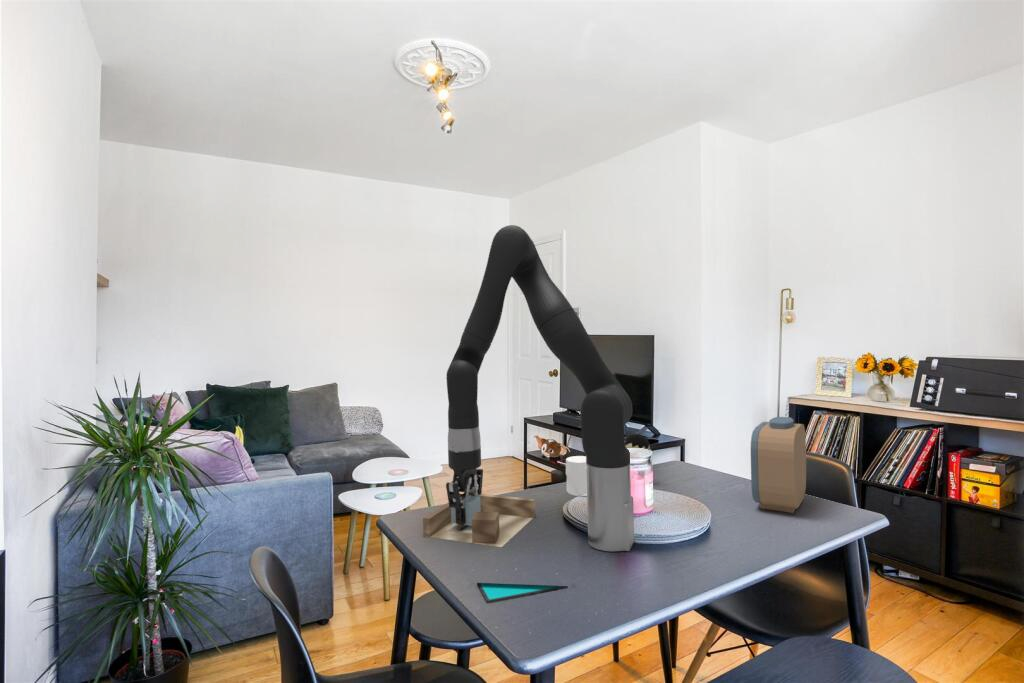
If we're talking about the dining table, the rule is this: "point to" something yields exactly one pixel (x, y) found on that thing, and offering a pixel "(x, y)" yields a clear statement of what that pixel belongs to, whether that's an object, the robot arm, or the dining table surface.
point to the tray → (510, 511)
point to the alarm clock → (778, 464)
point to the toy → (637, 442)
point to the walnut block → (485, 527)
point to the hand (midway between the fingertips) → (466, 519)
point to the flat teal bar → (512, 590)
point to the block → (468, 509)
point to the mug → (576, 475)
